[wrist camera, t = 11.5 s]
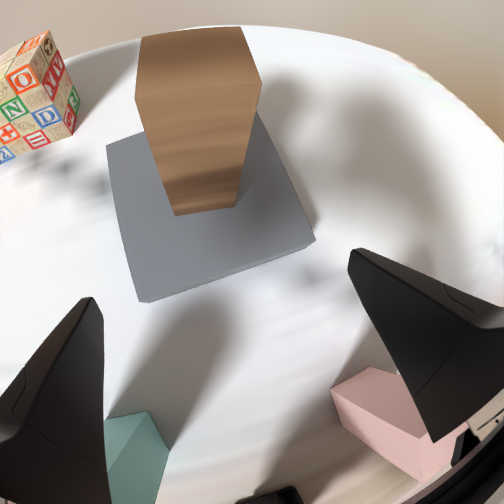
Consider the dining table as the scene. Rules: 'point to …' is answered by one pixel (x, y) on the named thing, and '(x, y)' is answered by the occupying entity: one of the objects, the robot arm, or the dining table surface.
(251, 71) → the walnut block
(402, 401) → the dusty pink block
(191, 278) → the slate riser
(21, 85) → the stack of blocks
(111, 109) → the dining table surface
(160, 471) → the muted teal block
